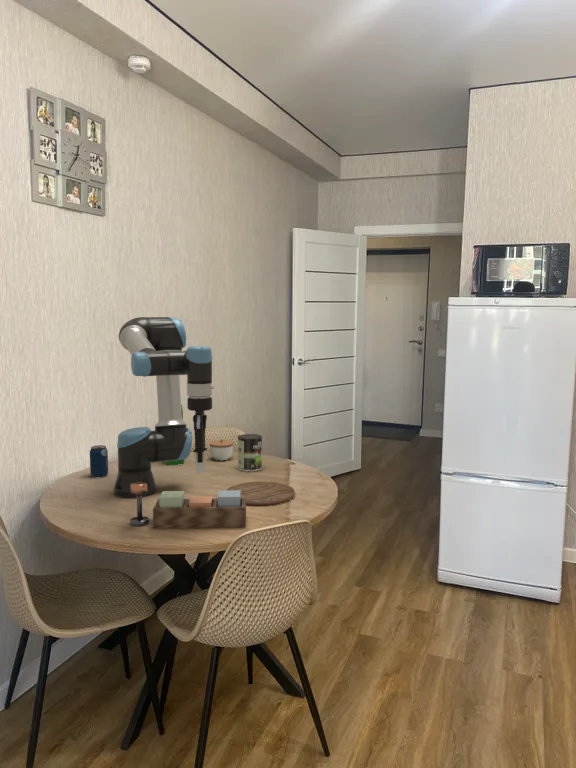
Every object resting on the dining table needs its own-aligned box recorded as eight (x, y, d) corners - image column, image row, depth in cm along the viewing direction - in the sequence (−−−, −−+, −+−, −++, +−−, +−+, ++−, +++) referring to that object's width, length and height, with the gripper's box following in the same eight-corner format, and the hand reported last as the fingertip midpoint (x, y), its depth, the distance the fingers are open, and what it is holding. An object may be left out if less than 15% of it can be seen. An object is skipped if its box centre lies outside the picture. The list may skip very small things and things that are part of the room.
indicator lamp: (128, 526, 176) (127, 487, 175) (132, 519, 182) (131, 481, 181) (147, 526, 176) (147, 486, 175) (151, 519, 182) (150, 481, 181)
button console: (153, 528, 174) (152, 509, 174) (158, 517, 184) (158, 499, 184) (245, 526, 176) (245, 507, 175) (246, 515, 186) (245, 497, 185)
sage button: (159, 510, 176) (159, 497, 175) (163, 503, 182) (162, 491, 182) (181, 510, 176) (181, 497, 176) (184, 503, 183) (184, 491, 182)
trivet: (309, 496, 208) (309, 491, 208) (256, 512, 191) (256, 506, 191) (264, 482, 226) (264, 477, 226) (211, 495, 209) (211, 490, 209)
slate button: (218, 509, 177) (217, 497, 176) (219, 502, 183) (219, 490, 183) (240, 509, 177) (240, 496, 177) (240, 502, 184) (240, 490, 183)
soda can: (111, 475, 233) (110, 446, 232) (95, 479, 228) (94, 449, 227) (102, 472, 238) (102, 444, 237) (87, 475, 233) (86, 446, 232)
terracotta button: (188, 515, 176) (188, 503, 176) (191, 508, 183) (191, 496, 183) (211, 515, 177) (211, 502, 176) (212, 508, 183) (212, 496, 183)
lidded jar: (232, 462, 256) (232, 441, 255) (208, 462, 256) (208, 441, 255) (234, 456, 267) (234, 436, 266) (211, 456, 267) (211, 436, 266)
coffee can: (266, 467, 248) (266, 435, 246) (253, 472, 239) (253, 439, 237) (246, 464, 253) (246, 433, 251) (233, 469, 244) (233, 437, 242)
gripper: (210, 399, 170) (211, 477, 172) (213, 393, 183) (214, 466, 185) (184, 399, 169) (185, 477, 172) (189, 394, 182) (190, 466, 185)
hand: (200, 471), depth 179 cm, fingers closed
